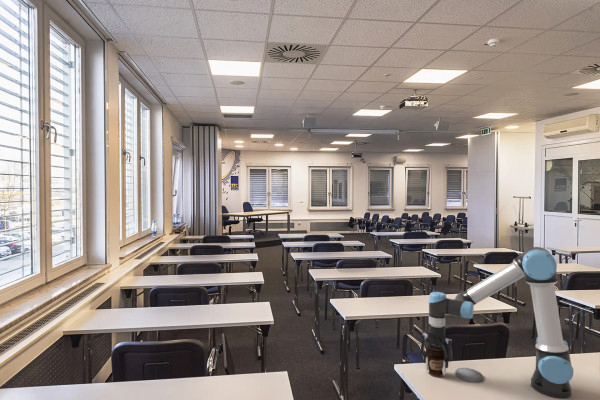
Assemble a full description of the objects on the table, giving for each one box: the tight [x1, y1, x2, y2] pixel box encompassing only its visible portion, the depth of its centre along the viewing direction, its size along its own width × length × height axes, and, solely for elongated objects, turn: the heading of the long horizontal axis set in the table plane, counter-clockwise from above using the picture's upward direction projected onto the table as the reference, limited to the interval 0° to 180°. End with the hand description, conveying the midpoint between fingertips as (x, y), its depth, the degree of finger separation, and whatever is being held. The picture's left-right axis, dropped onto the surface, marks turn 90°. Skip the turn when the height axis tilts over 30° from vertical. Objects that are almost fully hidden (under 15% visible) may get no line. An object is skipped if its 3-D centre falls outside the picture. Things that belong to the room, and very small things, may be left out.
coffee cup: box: [427, 344, 444, 378], centre depth 177 cm, size 9×8×13 cm
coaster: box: [454, 367, 484, 383], centre depth 176 cm, size 12×12×1 cm
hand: (435, 371), depth 177 cm, fingers closed on coffee cup, 7 cm apart
